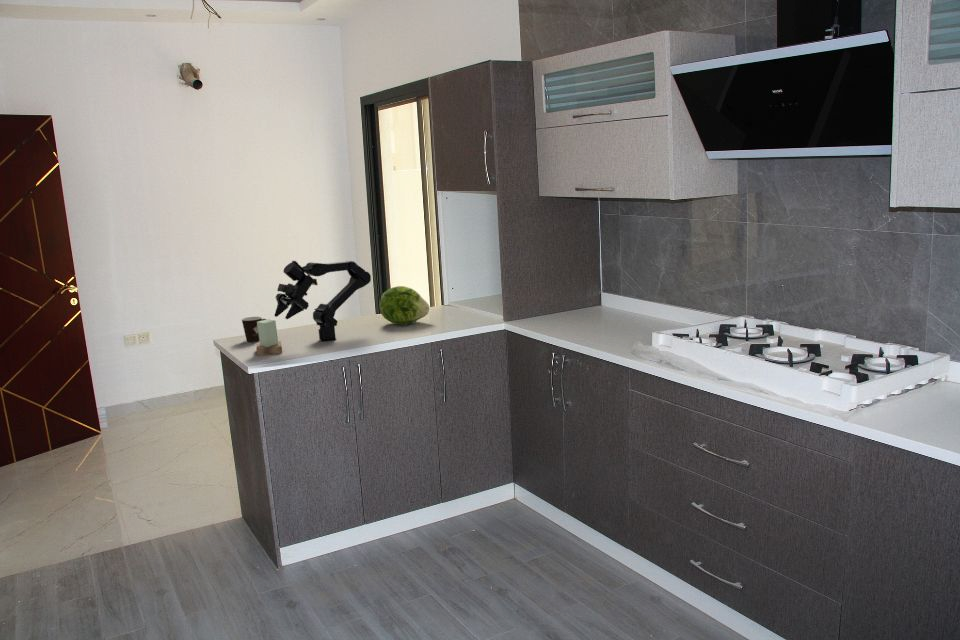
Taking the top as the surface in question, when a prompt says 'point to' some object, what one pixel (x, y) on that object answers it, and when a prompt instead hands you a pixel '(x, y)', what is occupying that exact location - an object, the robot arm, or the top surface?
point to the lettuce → (403, 305)
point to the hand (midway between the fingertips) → (280, 317)
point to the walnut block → (269, 349)
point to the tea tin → (267, 332)
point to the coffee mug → (251, 328)
